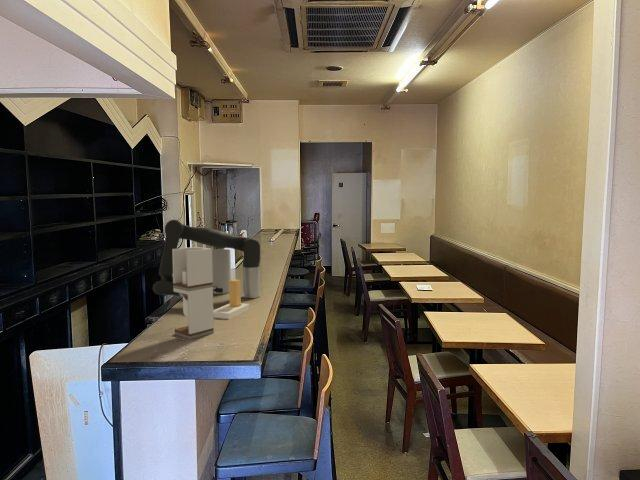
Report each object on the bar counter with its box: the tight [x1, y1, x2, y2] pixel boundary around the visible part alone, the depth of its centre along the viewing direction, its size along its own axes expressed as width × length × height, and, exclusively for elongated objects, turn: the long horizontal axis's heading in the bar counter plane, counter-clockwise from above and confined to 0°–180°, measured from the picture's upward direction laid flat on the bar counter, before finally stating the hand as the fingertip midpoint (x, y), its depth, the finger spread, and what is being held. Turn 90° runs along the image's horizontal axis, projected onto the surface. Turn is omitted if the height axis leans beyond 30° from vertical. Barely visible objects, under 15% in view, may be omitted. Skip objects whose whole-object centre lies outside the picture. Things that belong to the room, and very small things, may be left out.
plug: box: [228, 278, 242, 307], centre depth 223 cm, size 4×4×15 cm
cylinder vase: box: [212, 248, 232, 295], centre depth 268 cm, size 12×12×25 cm
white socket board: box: [213, 302, 250, 320], centre depth 218 cm, size 20×10×3 cm, turn 162°
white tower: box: [172, 246, 215, 340], centre depth 185 cm, size 11×11×35 cm
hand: (218, 292), depth 226 cm, fingers open, 8 cm apart
